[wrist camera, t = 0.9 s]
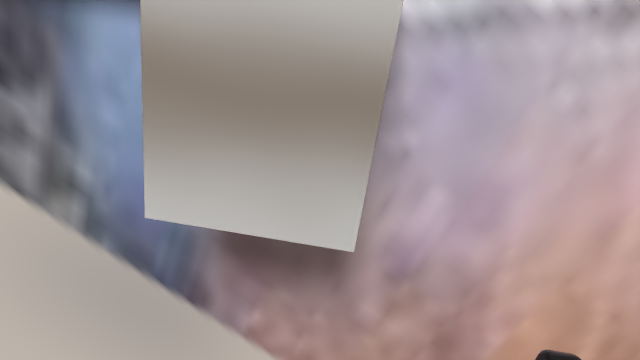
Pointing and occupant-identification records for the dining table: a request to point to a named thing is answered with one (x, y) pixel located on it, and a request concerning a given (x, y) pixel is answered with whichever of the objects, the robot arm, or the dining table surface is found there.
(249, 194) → the housing
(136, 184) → the dining table surface
